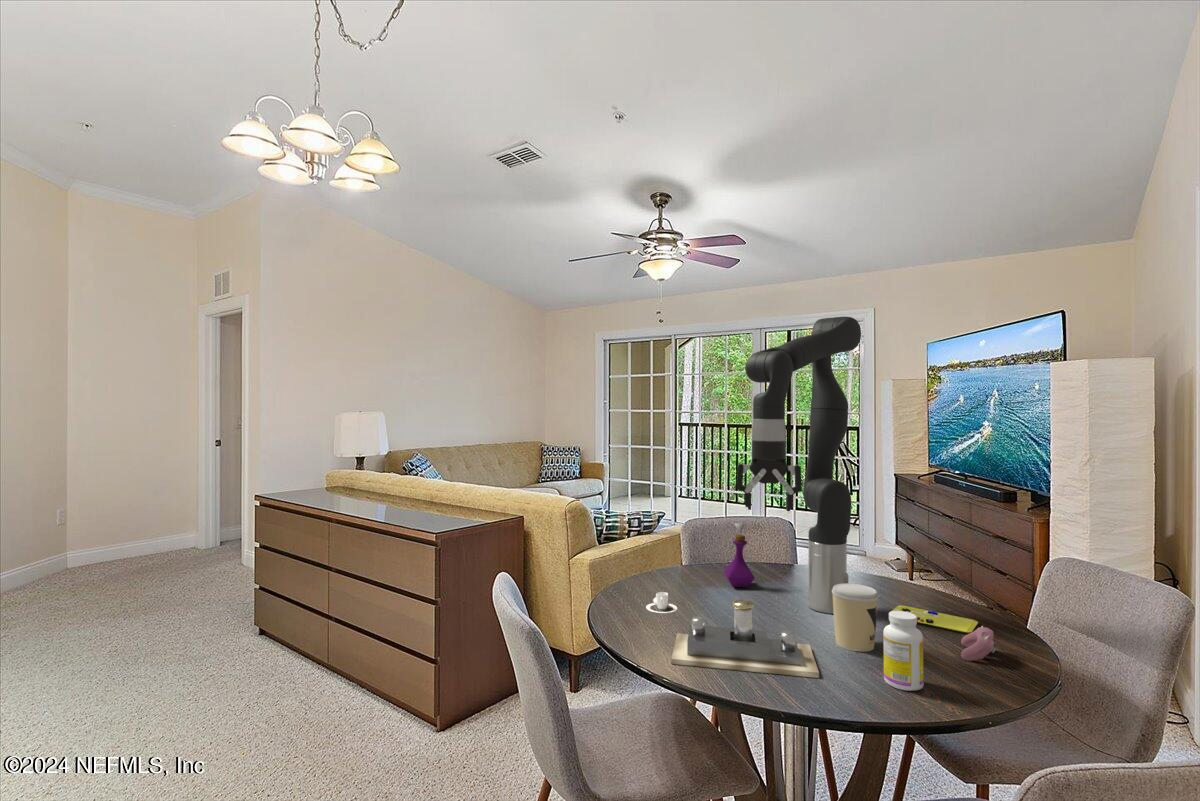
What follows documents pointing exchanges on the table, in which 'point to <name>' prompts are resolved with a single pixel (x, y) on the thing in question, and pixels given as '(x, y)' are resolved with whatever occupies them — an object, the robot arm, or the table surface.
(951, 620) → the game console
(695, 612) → the table surface
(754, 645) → the knobbed grey block
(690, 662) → the birch board
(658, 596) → the teacup and saucer
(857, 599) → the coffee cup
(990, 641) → the video game controller
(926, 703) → the table surface
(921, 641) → the supplement bottle
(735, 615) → the pin
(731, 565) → the perfume bottle
